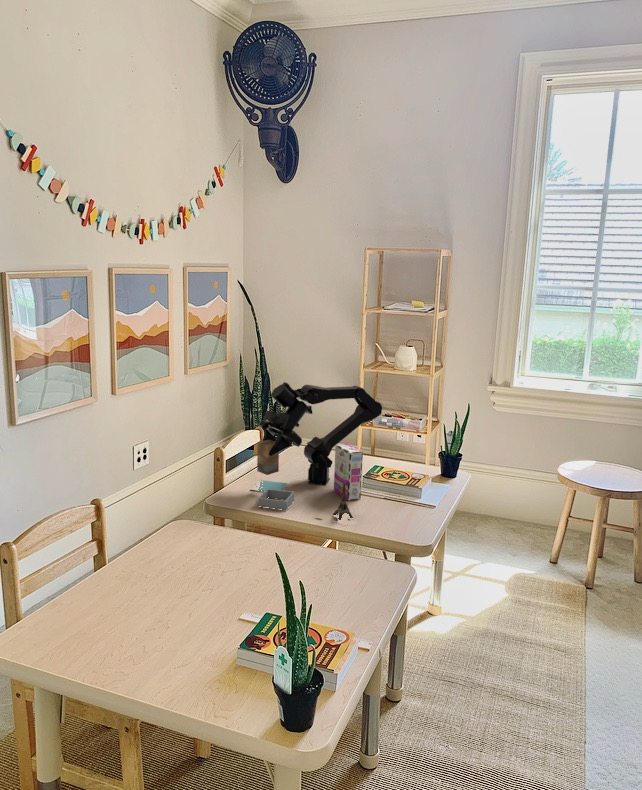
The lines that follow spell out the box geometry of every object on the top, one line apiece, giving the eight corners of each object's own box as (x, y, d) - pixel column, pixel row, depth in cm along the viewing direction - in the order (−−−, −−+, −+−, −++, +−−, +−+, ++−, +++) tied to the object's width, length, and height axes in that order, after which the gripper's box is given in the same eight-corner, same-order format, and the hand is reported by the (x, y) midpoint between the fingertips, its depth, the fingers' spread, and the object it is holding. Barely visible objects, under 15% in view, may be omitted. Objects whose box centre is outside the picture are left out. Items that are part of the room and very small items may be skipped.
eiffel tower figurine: (312, 520, 199) (313, 478, 196) (325, 509, 208) (326, 468, 205) (359, 529, 193) (361, 486, 191) (370, 517, 202) (372, 476, 200)
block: (278, 471, 220) (278, 442, 217) (267, 475, 216) (267, 445, 214) (268, 467, 223) (268, 439, 221) (257, 471, 220) (257, 442, 217)
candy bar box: (361, 499, 216) (363, 451, 212) (348, 501, 214) (349, 453, 210) (346, 488, 226) (347, 442, 222) (333, 490, 224) (334, 443, 220)
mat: (287, 484, 228) (287, 482, 228) (278, 493, 219) (278, 492, 219) (259, 481, 231) (259, 480, 230) (250, 490, 221) (250, 489, 221)
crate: (294, 500, 213) (294, 491, 213) (286, 510, 204) (286, 501, 204) (267, 497, 215) (267, 488, 215) (258, 507, 206) (258, 498, 206)
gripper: (263, 396, 224) (235, 432, 220) (294, 407, 210) (265, 446, 206) (282, 415, 231) (255, 451, 226) (314, 427, 216) (286, 465, 212)
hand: (264, 453), depth 217 cm, fingers closed on block, 5 cm apart
